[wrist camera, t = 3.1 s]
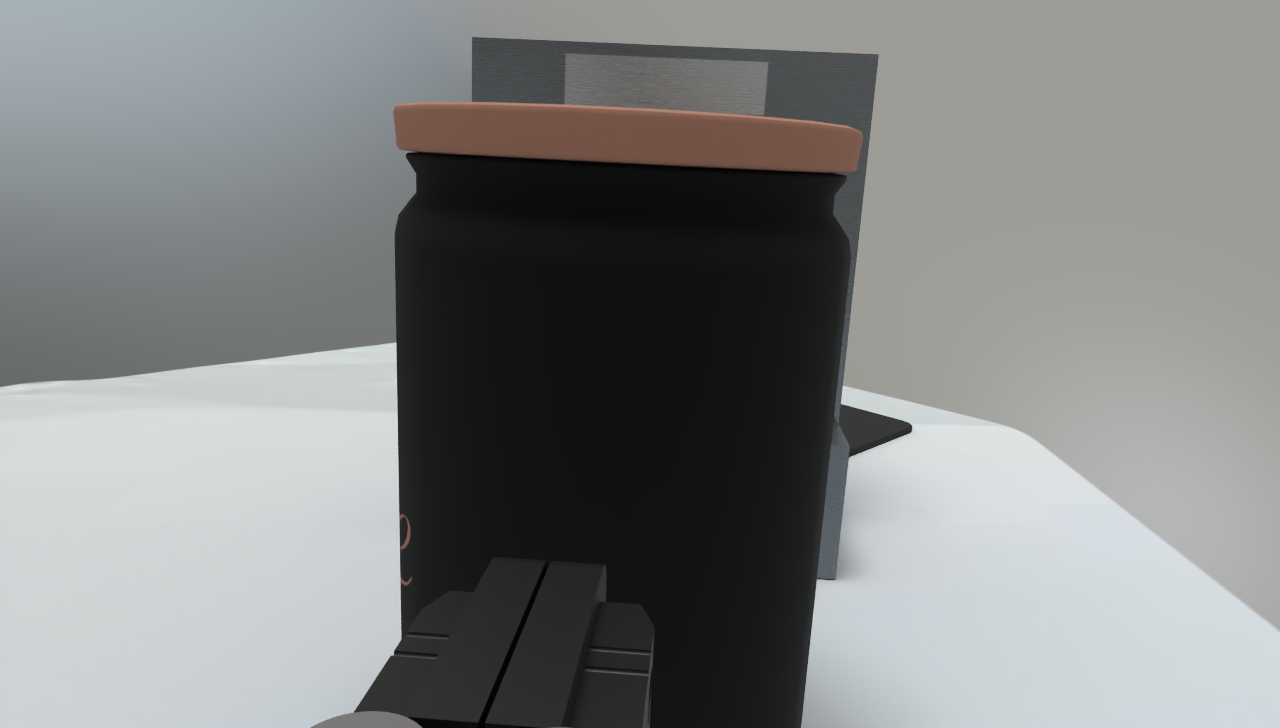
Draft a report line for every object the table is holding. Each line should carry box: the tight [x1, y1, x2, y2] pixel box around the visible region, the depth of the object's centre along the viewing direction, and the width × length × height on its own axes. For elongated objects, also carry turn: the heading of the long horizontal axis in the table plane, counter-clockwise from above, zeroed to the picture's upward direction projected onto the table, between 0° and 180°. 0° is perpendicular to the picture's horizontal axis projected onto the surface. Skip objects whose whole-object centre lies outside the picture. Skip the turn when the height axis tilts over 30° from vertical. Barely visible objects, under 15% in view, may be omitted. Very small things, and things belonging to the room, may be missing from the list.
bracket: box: [472, 37, 878, 579], centre depth 39 cm, size 8×18×22 cm, turn 86°
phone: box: [839, 404, 912, 457], centre depth 56 cm, size 7×1×15 cm
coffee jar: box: [393, 102, 863, 728], centre depth 22 cm, size 11×11×18 cm
